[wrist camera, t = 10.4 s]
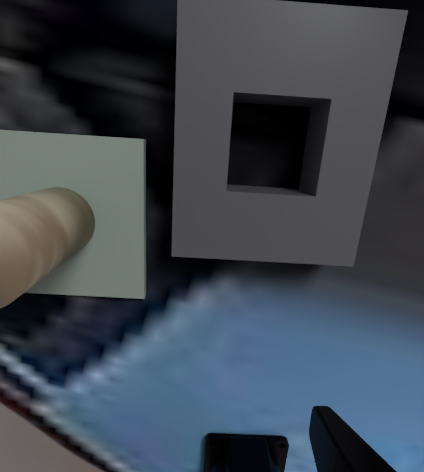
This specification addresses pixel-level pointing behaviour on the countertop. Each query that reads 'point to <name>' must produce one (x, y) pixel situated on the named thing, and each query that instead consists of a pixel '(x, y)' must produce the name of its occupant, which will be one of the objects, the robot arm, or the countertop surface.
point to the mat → (98, 197)
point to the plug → (39, 236)
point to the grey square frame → (285, 94)
